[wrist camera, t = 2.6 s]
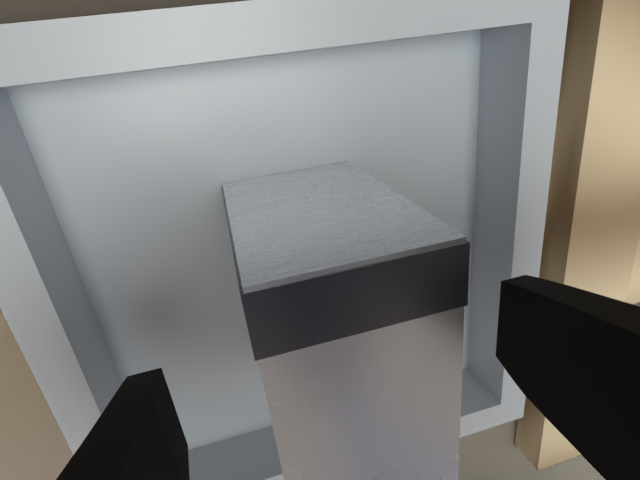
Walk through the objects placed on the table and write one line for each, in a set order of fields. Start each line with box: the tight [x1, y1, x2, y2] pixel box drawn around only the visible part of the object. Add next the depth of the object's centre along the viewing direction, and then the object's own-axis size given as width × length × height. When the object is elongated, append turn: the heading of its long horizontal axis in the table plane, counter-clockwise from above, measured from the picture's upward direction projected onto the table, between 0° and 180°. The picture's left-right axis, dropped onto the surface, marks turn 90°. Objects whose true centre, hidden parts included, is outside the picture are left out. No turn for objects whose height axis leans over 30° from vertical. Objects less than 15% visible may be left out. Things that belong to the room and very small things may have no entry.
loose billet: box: [221, 161, 470, 480], centre depth 10 cm, size 4×6×6 cm, turn 7°
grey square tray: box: [0, 0, 570, 480], centre depth 12 cm, size 14×14×2 cm
